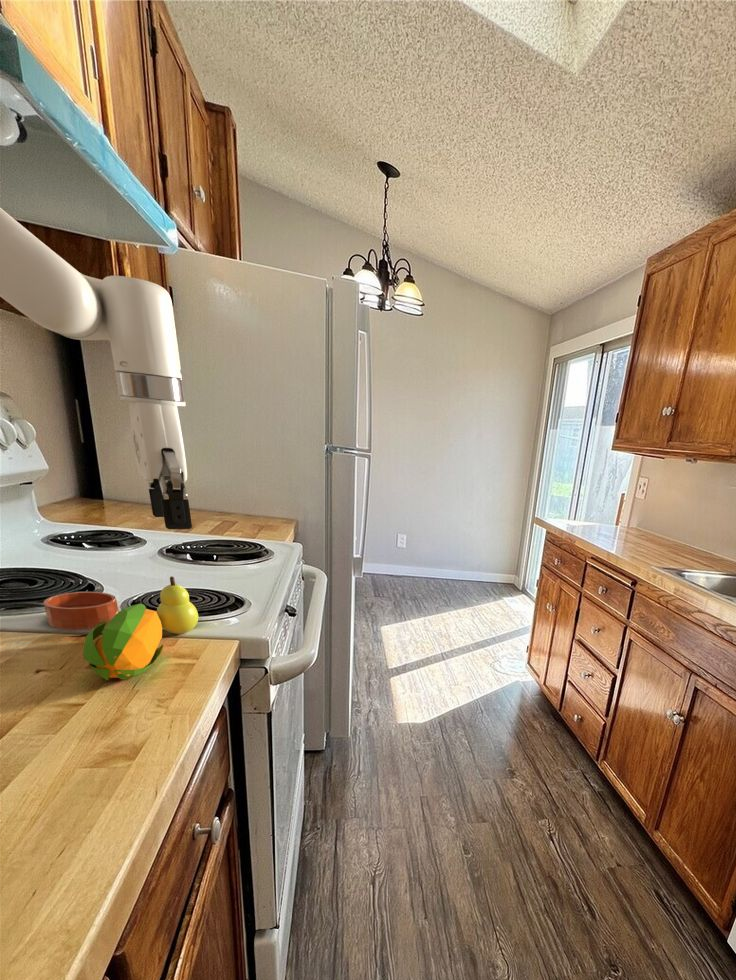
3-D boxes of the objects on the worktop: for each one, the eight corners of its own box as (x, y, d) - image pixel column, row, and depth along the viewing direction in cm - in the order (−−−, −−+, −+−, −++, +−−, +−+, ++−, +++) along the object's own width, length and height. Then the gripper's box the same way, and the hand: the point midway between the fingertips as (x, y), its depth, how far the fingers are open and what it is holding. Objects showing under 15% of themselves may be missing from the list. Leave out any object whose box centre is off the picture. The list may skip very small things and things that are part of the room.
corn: (64, 634, 63) (116, 586, 80) (73, 694, 66) (121, 635, 83) (140, 637, 66) (175, 590, 83) (146, 695, 69) (178, 638, 86)
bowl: (52, 641, 79) (44, 611, 77) (49, 622, 85) (42, 594, 83) (124, 633, 84) (119, 605, 82) (117, 616, 90) (112, 589, 88)
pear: (162, 641, 83) (153, 582, 79) (156, 629, 87) (146, 573, 83) (204, 636, 86) (196, 579, 83) (196, 625, 90) (188, 570, 87)
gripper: (109, 386, 77) (132, 512, 85) (128, 389, 66) (152, 535, 73) (171, 393, 82) (187, 512, 89) (198, 396, 70) (215, 533, 77)
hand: (172, 522), depth 81 cm, fingers open, 9 cm apart
